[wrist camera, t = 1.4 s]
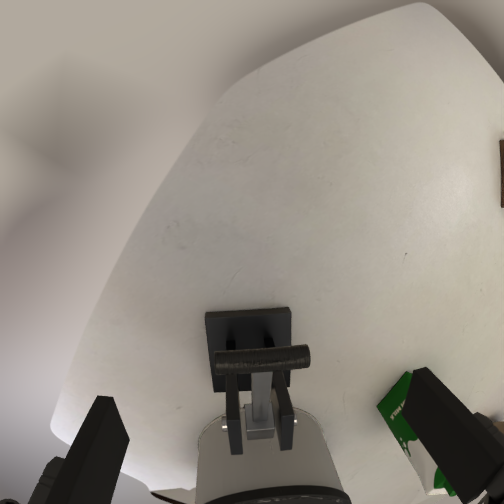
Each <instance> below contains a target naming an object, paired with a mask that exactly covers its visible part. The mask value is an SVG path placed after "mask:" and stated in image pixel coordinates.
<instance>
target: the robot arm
mask: <svg viewBox="0 0 504 504" xmlns="http://www.w3.org/2000/svg"><path fill="white" fill-rule="evenodd" d="M401 415H402V416H403V417H404V419H405V420H406V422H407V423H408V424H409V426H410V427H411V429H412V430H413V432H414V433H415V434H416V436H417V437H418V439H419V440H420V442H421V443H422V444H423V446H424V447H425V449H426V450H427V452H428V453H429V455H430V456H431V457H432V459H433V460H434V462H435V463H436V465H437V466H438V468H439V469H440V471H441V472H442V473H443V475H444V476H445V478H446V479H447V481H448V482H449V484H450V485H451V487H452V488H453V490H454V491H455V493H456V494H457V496H458V497H459V499H460V500H461V502H462V503H463V504H468V503H470V502H471V501H473V500H474V499H476V498H477V497H478V496H479V495H480V494H481V493H482V492H483V491H484V490H486V491H487V494H486V495H485V496H484V497H483V498H482V499H481V500H480V502H479V503H478V504H482V503H483V502H484V504H504V434H503V433H502V432H501V431H499V429H498V428H497V427H496V426H495V425H493V423H492V422H491V421H490V420H489V419H488V418H487V417H486V416H484V415H482V414H480V413H478V412H476V413H474V414H472V413H471V412H470V411H469V410H468V409H467V408H466V406H465V405H464V404H463V403H462V402H461V401H460V400H459V399H458V398H457V397H456V396H455V395H454V394H453V393H452V392H451V391H450V390H449V389H448V388H447V387H446V386H445V385H444V384H443V383H442V382H441V381H440V380H439V379H438V378H437V377H436V376H435V375H434V374H433V373H432V372H431V371H430V370H429V369H428V368H427V367H423V368H420V369H416V370H413V374H412V378H411V381H410V385H409V389H408V392H407V395H406V399H405V402H404V405H403V408H402V411H401ZM129 441H130V439H129V436H128V434H127V432H126V429H125V427H124V424H123V422H122V419H121V417H120V414H119V412H118V409H117V406H116V404H115V401H114V398H113V397H108V396H98V395H97V397H96V399H95V401H94V403H93V405H92V407H91V408H90V410H89V412H88V414H87V416H86V418H85V420H84V422H83V424H82V426H81V428H80V430H79V432H78V434H77V435H76V437H75V439H74V441H73V443H72V445H71V447H70V450H69V452H68V454H67V456H66V458H65V459H64V458H60V457H57V456H56V457H54V458H53V459H52V460H51V461H50V462H49V463H48V464H47V465H46V467H45V469H44V471H43V475H41V477H40V479H39V483H38V484H37V486H36V487H35V489H34V491H33V494H32V496H31V498H30V500H29V502H28V504H111V500H112V497H113V493H114V490H115V486H116V483H117V479H118V476H119V473H120V469H121V466H122V463H123V460H124V456H125V453H126V450H127V447H128V444H129ZM0 504H19V503H18V502H17V501H15V500H12V499H4V500H1V501H0Z"/></svg>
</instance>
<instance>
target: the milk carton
mask: <svg viewBox="0 0 504 504" xmlns="http://www.w3.org/2000/svg"><path fill="white" fill-rule="evenodd" d="M411 378H412V374H411V373H409V372H407V371H406V373H405V374H404V375H403V376H402V378H401V379H400V380H399V381H398V382H397V384H396V385H395V386H394V387H393V388H392V390H391V391H390V392H389V393H388V394H387V395H386V397H385V398H384V399H383V400H382V401H381V402H380V403H379V405H378V406H377V408H378V410H379V411H380V413H381V415H382V416H383V418H384V420H385V421H386V423H387V425H388V426H389V428H390V430H391V431H392V433H393V434H394V436H395V438H396V439H397V441H398V443H399V444H400V446H401V448H402V449H403V451H404V453H405V454H406V456H407V457H408V459H409V461H410V462H411V464H412V466H413V467H414V469H415V471H416V472H417V474H418V476H419V478H420V480H421V483H422V485H423V488H424V490H425V493H426V494H427V495H434V494H446V493H448V494H449V496H455V495H457V494H456V493H455V491H454V490H453V488H452V487H451V485H450V484H449V482H448V481H447V479H446V478H445V476H444V475H443V473H442V472H441V471H440V469H439V468H438V466H437V465H436V463H435V462H434V460H433V459H432V457H431V456H430V455H429V453H428V452H427V450H426V449H425V447H424V446H423V444H422V443H421V442H420V440H419V439H418V437H417V436H416V434H415V433H414V432H413V430H412V429H411V427H410V426H409V424H408V423H407V422H406V420H405V419H404V417H403V416H402V415H401V411H402V408H403V405H404V402H405V399H406V395H407V392H408V389H409V385H410V381H411Z"/></svg>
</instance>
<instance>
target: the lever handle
mask: <svg viewBox="0 0 504 504" xmlns="http://www.w3.org/2000/svg"><path fill="white" fill-rule="evenodd" d="M214 365H215V373H216V375H231V374H248V373H251V380H252V404H244V409H245V422H246V434H247V440H258V439H270V438H273V437H274V433H275V421H274V413H273V406H272V402H269V401H270V393H271V384H272V374H273V371H283V370H293V369H302V368H308V367H309V366H310V350H309V347H308V345H307V344H304V345H294V346H284V347H273V348H261V349H247V350H230V351H215V352H214Z"/></svg>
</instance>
